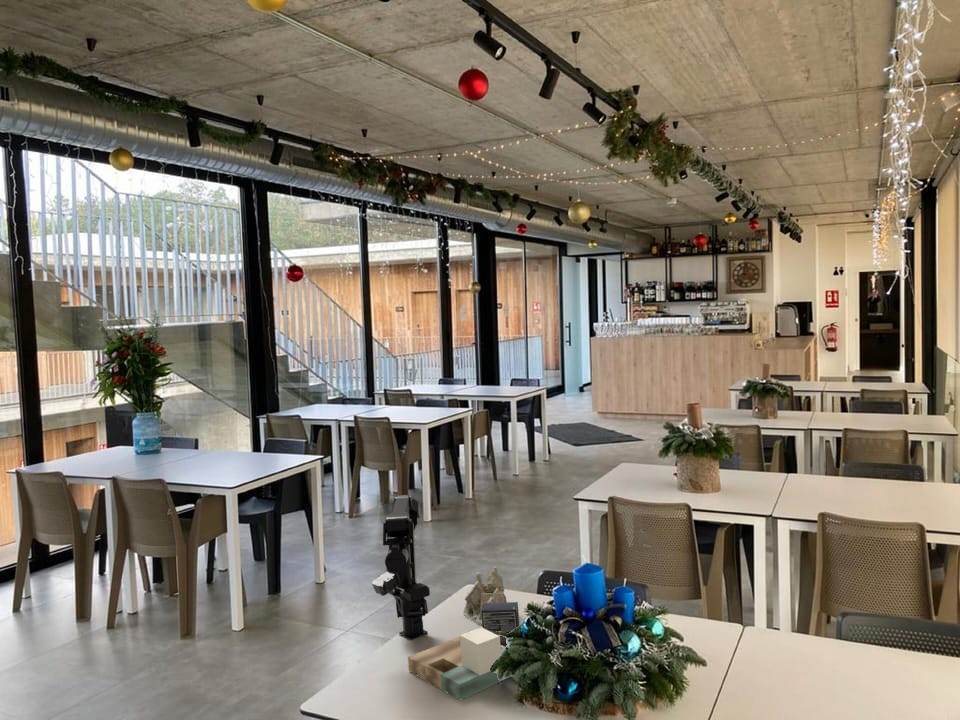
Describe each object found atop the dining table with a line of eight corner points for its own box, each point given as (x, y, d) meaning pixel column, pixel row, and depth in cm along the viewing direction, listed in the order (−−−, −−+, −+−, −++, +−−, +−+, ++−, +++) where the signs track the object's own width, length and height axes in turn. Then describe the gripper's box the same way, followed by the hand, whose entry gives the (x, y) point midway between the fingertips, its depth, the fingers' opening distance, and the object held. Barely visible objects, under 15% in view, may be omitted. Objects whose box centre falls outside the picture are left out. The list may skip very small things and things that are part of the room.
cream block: (462, 665, 198) (459, 635, 198) (483, 656, 202) (481, 627, 202) (479, 675, 192) (477, 644, 191) (501, 666, 196) (499, 636, 195)
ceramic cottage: (470, 604, 251) (468, 561, 249) (518, 610, 245) (515, 565, 244) (452, 626, 237) (449, 580, 235) (501, 632, 231) (499, 585, 229)
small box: (520, 635, 224) (518, 600, 224) (519, 645, 218) (517, 609, 217) (485, 636, 225) (482, 602, 225) (483, 646, 219) (480, 610, 218)
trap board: (408, 671, 206) (407, 656, 205) (472, 645, 219) (471, 631, 219) (460, 700, 188) (459, 684, 188) (526, 670, 202) (525, 655, 201)
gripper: (357, 561, 212) (362, 616, 213) (393, 575, 198) (398, 634, 198) (391, 552, 219) (395, 605, 220) (428, 564, 205) (433, 621, 205)
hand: (404, 616), depth 211 cm, fingers closed
